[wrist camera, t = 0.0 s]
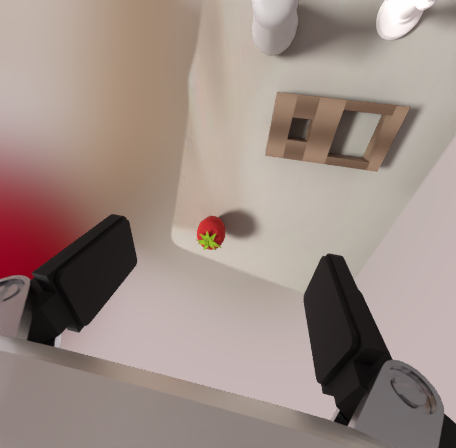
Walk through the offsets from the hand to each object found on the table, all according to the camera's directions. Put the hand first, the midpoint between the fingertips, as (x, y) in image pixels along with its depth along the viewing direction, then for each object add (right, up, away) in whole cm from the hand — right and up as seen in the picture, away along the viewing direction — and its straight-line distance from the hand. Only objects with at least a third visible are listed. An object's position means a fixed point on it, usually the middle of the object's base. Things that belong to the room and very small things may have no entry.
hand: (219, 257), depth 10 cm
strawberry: (-2, +3, +37) cm, 37 cm away
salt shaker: (+7, +29, +18) cm, 35 cm away
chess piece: (+22, +28, +15) cm, 39 cm away
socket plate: (+16, +17, +23) cm, 33 cm away
